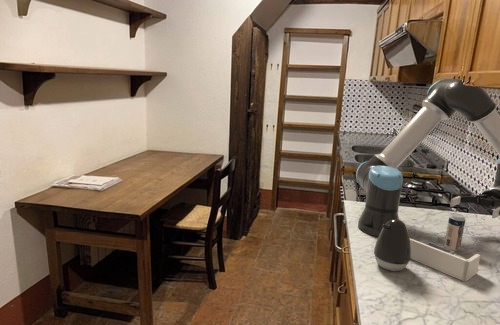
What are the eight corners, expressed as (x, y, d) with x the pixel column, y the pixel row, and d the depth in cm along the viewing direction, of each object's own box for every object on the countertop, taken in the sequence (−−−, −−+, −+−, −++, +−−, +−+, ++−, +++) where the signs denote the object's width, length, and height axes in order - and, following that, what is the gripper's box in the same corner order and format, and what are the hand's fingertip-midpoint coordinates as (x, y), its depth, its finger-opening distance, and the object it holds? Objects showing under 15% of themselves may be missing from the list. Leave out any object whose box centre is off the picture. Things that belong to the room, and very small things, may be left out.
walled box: (465, 281, 101) (469, 262, 100) (388, 248, 119) (390, 232, 118) (480, 270, 108) (484, 252, 106) (405, 241, 126) (407, 225, 125)
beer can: (460, 252, 119) (467, 219, 116) (444, 249, 121) (450, 216, 118) (458, 247, 123) (464, 214, 121) (442, 244, 125) (448, 211, 122)
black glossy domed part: (364, 261, 110) (370, 215, 106) (390, 256, 114) (396, 211, 111) (389, 278, 101) (396, 228, 97) (416, 272, 105) (424, 223, 102)
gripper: (531, 217, 129) (511, 230, 116) (458, 198, 148) (434, 208, 135) (536, 197, 127) (516, 208, 115) (461, 181, 147) (437, 189, 134)
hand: (471, 208), depth 125 cm, fingers open, 13 cm apart
